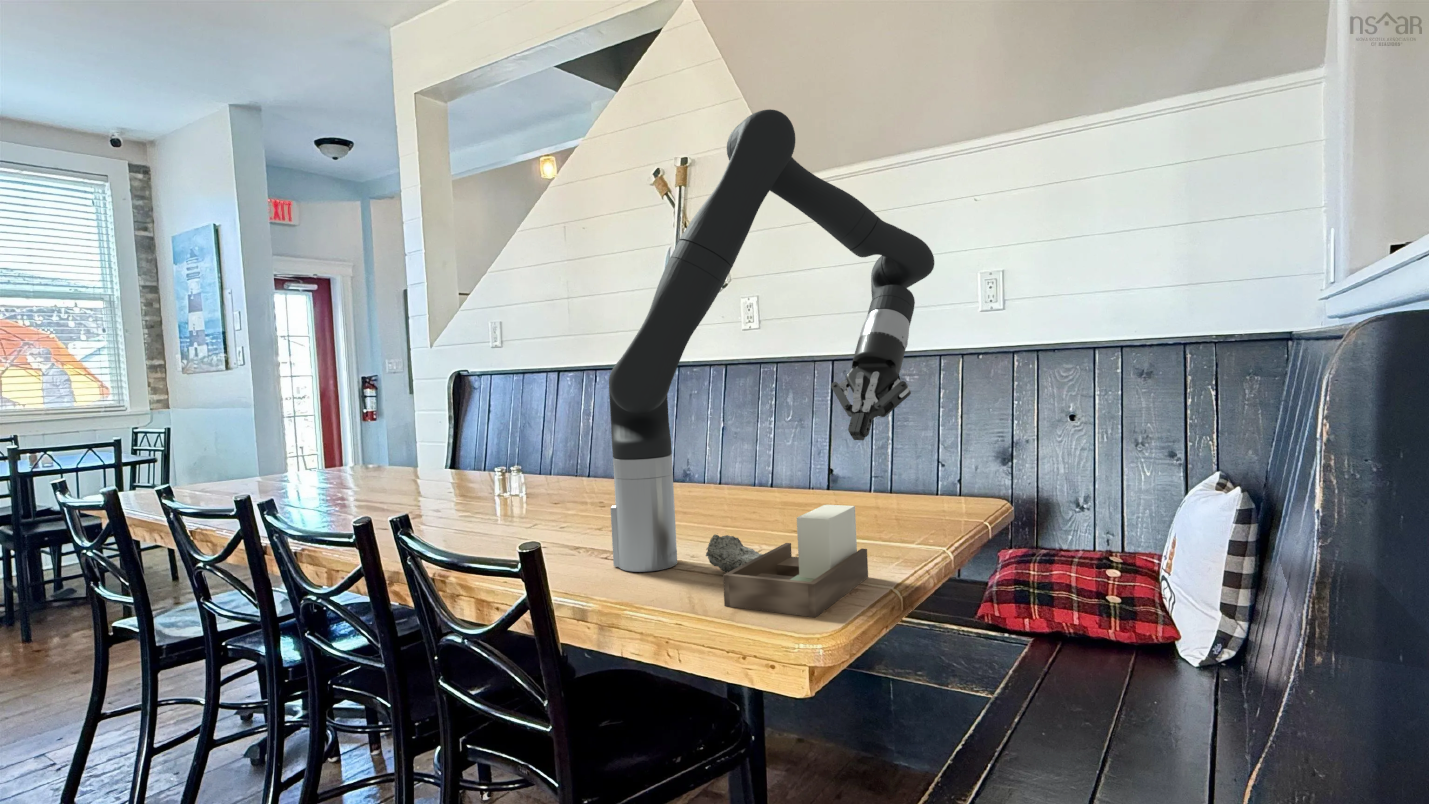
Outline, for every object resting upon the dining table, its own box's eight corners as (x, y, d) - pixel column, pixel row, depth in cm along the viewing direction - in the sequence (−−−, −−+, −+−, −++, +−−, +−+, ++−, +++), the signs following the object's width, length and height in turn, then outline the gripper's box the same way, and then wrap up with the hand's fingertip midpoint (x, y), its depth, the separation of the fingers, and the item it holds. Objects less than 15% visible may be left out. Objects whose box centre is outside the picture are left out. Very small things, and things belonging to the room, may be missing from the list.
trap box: (724, 605, 98) (722, 574, 98) (787, 569, 115) (786, 542, 114) (815, 617, 92) (814, 584, 92) (868, 577, 108) (867, 548, 108)
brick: (799, 577, 103) (796, 517, 102) (827, 559, 111) (825, 504, 111) (831, 580, 100) (828, 519, 100) (857, 562, 109) (855, 505, 109)
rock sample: (762, 555, 108) (731, 510, 113) (722, 590, 109) (693, 543, 114) (791, 570, 116) (761, 527, 122) (753, 602, 117) (725, 558, 123)
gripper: (835, 332, 124) (807, 423, 116) (915, 327, 116) (891, 425, 108) (851, 359, 129) (826, 448, 121) (929, 357, 121) (907, 452, 114)
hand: (857, 437), depth 115 cm, fingers closed
